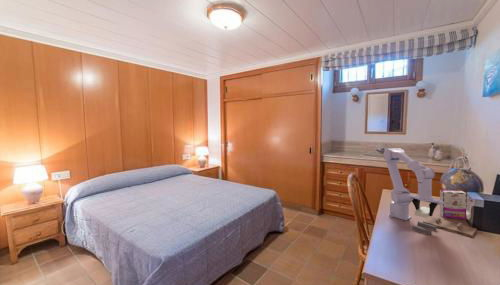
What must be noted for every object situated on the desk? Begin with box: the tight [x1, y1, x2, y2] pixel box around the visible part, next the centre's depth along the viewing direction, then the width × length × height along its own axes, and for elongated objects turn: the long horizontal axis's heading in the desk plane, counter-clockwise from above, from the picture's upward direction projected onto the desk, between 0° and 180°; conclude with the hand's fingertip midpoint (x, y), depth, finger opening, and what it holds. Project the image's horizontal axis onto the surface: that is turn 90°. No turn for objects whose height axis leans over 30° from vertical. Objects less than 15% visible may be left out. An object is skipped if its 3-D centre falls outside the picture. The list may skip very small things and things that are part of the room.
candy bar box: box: [439, 189, 468, 220], centre depth 127 cm, size 11×5×16 cm, turn 68°
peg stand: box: [422, 216, 478, 238], centre depth 116 cm, size 20×11×3 cm, turn 34°
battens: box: [411, 221, 437, 236], centre depth 114 cm, size 8×10×2 cm
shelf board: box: [414, 206, 435, 219], centre depth 114 cm, size 12×5×2 cm, turn 124°
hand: (424, 214), depth 114 cm, fingers closed on shelf board, 5 cm apart
